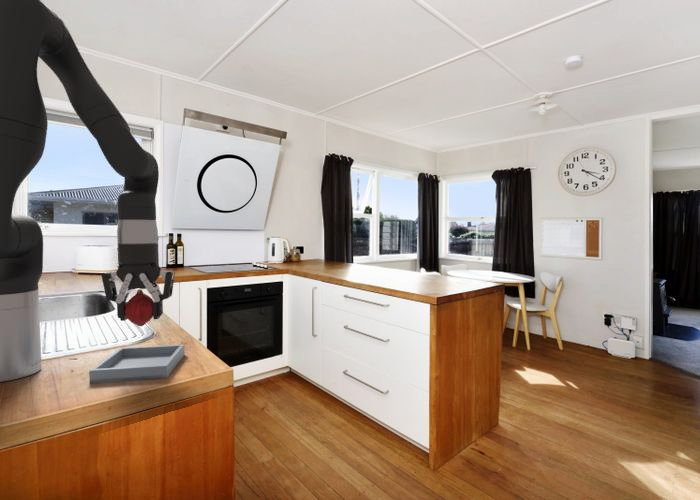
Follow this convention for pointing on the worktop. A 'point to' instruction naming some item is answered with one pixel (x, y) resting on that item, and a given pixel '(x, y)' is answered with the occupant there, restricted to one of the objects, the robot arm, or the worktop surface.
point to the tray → (138, 364)
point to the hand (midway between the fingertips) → (140, 318)
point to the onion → (139, 308)
